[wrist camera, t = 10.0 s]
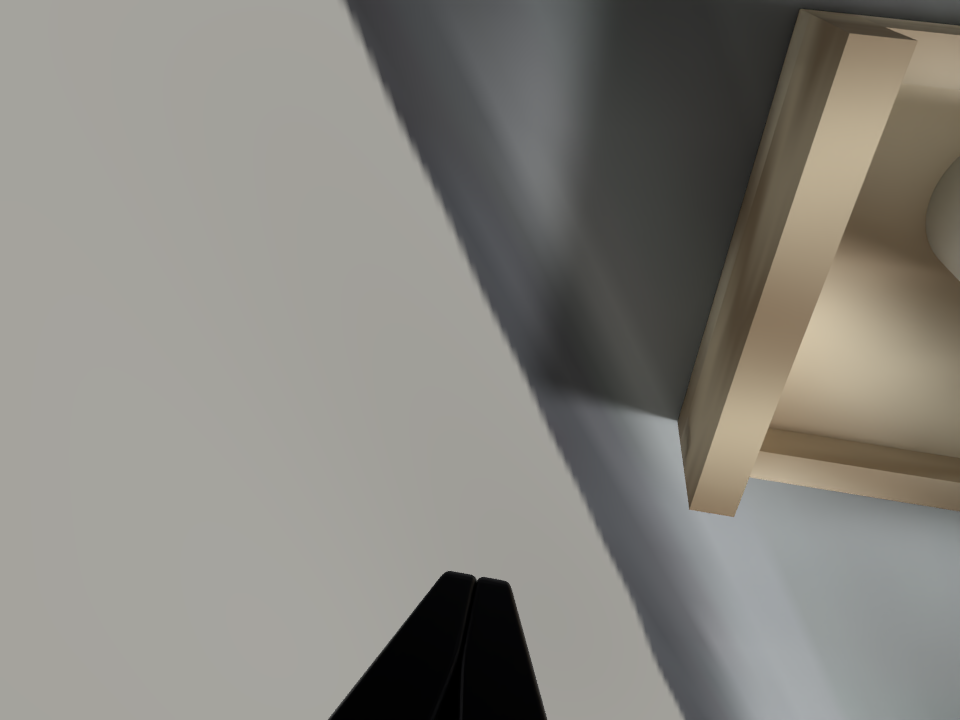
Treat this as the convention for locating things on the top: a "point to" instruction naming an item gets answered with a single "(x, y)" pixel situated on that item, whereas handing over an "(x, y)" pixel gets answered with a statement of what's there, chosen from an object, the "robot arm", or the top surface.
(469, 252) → the top surface
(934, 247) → the white rounded cylinder
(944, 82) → the tray
